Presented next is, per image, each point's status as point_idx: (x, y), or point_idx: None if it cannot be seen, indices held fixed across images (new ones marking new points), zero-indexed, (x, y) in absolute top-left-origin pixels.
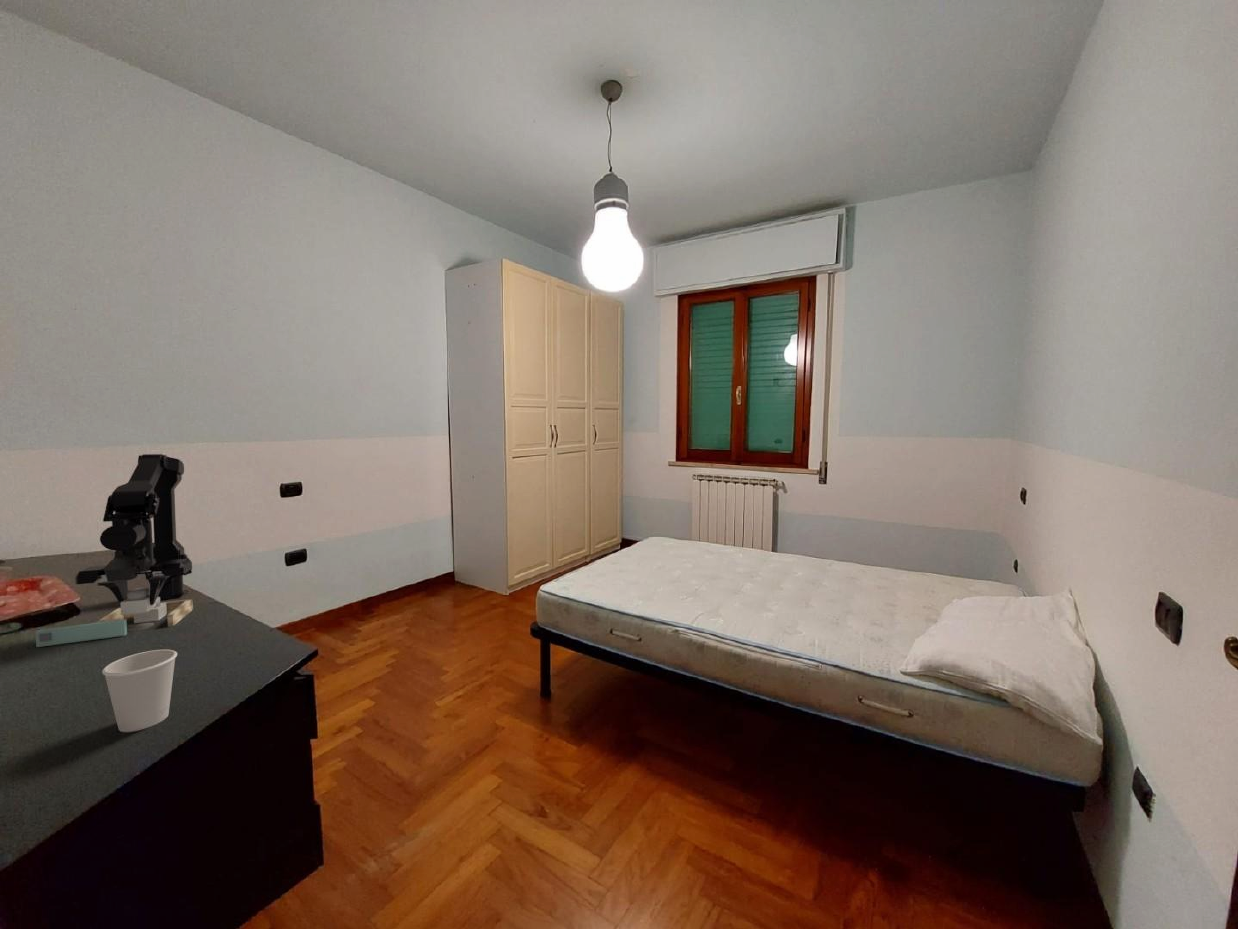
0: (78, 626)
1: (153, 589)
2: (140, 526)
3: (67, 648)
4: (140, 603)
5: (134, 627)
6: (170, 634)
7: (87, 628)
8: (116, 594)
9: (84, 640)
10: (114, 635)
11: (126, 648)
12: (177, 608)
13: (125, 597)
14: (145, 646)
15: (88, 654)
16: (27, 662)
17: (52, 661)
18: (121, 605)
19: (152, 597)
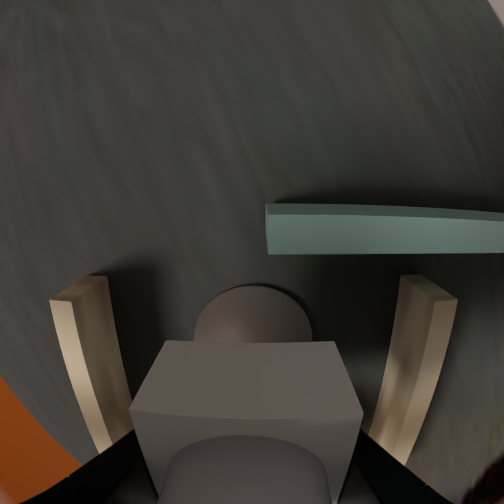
0: (500, 222)
1: (66, 501)
2: None
3: (457, 148)
4: (187, 393)
5: (276, 342)
6: (56, 152)
7: (457, 215)
8: (423, 499)
9: (433, 208)
10: (315, 204)
11: (178, 14)
12: (92, 408)
13: (349, 498)
14: (107, 20)
15: (321, 3)
16: (496, 53)
17: (421, 3)
18: (348, 393)
19: (117, 449)
